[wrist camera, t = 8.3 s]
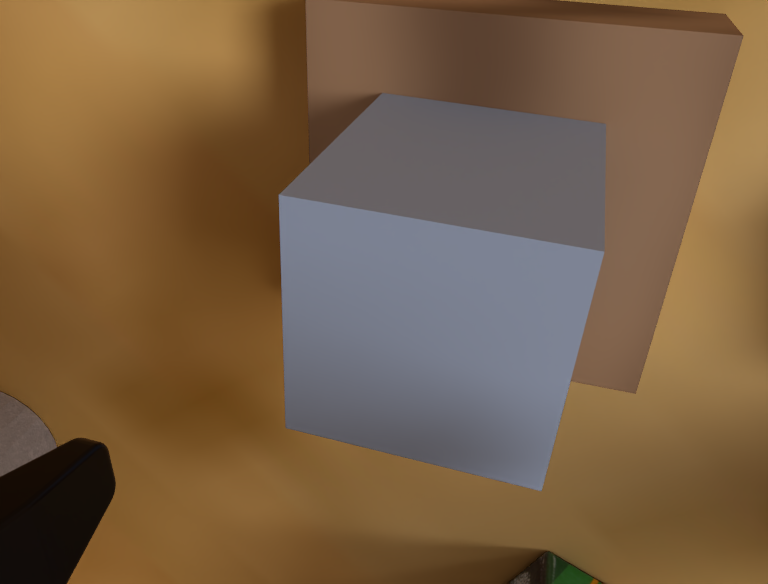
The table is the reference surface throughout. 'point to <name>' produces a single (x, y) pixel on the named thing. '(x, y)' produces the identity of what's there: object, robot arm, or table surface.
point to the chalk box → (552, 572)
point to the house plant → (21, 435)
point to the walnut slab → (558, 99)
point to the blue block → (442, 282)
